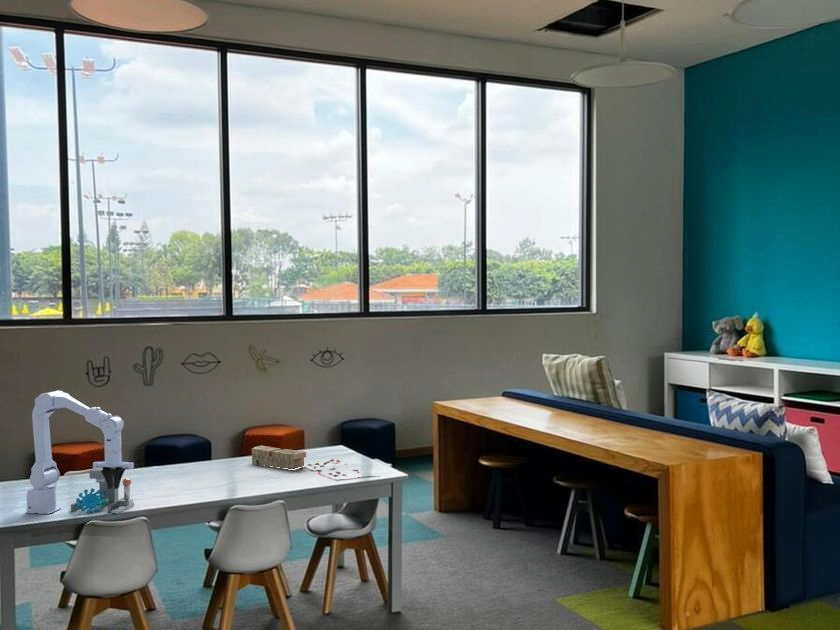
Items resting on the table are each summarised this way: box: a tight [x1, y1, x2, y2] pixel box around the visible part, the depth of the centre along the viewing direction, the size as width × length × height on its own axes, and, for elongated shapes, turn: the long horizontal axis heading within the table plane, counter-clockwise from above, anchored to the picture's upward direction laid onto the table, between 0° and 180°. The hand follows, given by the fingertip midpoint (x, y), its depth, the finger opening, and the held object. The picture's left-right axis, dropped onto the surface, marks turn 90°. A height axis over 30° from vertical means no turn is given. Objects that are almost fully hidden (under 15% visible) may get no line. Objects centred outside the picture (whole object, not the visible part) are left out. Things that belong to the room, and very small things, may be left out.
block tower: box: [251, 445, 307, 469], centre depth 380 cm, size 8×8×29 cm
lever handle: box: [121, 477, 134, 505], centre depth 308 cm, size 3×3×10 cm
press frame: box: [70, 466, 135, 515], centre depth 308 cm, size 19×16×14 cm
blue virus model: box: [75, 488, 109, 514], centre depth 305 cm, size 11×6×10 cm
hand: (113, 488), depth 298 cm, fingers closed
